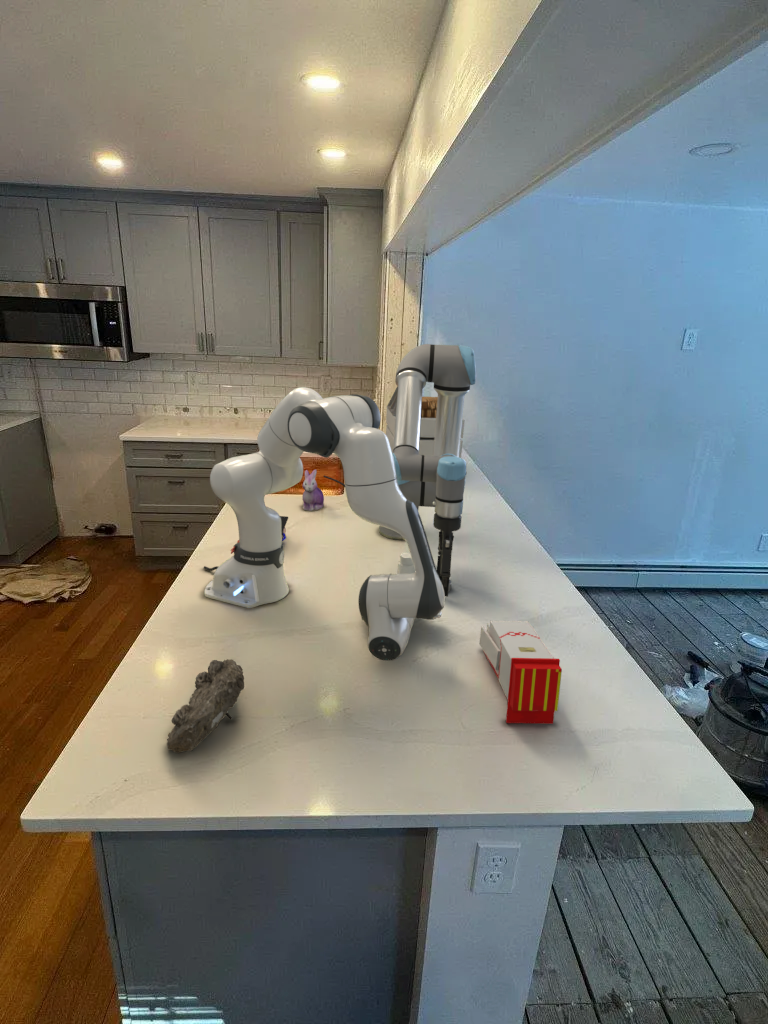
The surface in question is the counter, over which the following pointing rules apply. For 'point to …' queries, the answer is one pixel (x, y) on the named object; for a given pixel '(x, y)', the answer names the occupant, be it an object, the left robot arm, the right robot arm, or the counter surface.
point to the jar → (405, 564)
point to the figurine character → (283, 526)
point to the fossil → (206, 705)
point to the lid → (449, 585)
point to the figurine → (312, 492)
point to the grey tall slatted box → (425, 426)
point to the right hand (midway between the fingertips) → (441, 585)
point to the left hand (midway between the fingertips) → (405, 587)
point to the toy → (523, 670)
